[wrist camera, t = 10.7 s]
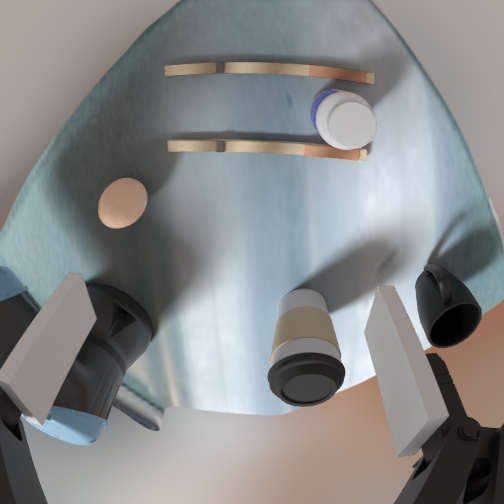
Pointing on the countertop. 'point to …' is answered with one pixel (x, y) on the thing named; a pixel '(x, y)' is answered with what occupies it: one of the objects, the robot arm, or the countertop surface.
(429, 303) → the mug
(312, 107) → the pill bottle
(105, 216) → the egg
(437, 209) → the countertop surface
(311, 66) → the beam track
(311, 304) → the coffee cup
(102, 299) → the robot arm
